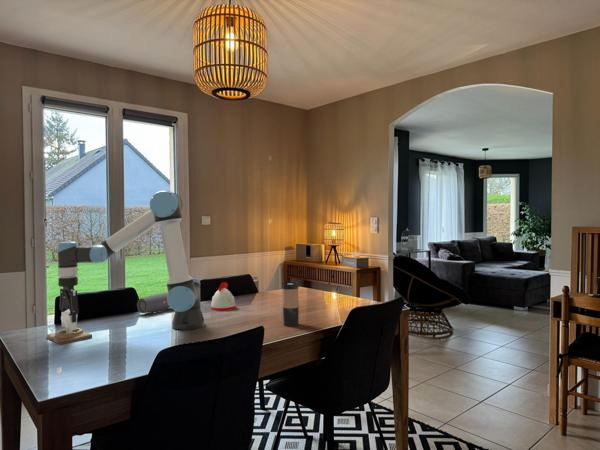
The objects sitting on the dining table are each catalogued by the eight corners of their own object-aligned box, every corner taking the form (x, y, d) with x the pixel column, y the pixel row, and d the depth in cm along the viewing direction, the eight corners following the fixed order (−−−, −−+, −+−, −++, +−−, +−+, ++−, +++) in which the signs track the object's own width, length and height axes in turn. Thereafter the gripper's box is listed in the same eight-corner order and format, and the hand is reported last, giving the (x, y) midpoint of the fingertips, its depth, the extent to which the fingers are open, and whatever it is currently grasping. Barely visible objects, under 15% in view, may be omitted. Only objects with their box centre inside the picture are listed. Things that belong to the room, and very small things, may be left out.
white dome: (240, 307, 247) (239, 281, 247) (225, 311, 235) (225, 285, 235) (221, 305, 254) (220, 280, 254) (205, 309, 242) (205, 283, 241)
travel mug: (301, 323, 206) (300, 282, 206) (295, 327, 199) (295, 284, 199) (286, 322, 209) (285, 281, 209) (280, 326, 202) (280, 284, 201)
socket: (92, 337, 186) (92, 331, 186) (59, 344, 176) (59, 337, 176) (78, 331, 197) (78, 325, 197) (46, 337, 187) (46, 331, 187)
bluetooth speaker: (147, 316, 227) (147, 297, 227) (136, 314, 232) (136, 296, 231) (180, 308, 246) (180, 291, 246) (169, 307, 251) (169, 290, 251)
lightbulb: (65, 332, 189) (64, 308, 189) (80, 332, 190) (79, 307, 190) (58, 336, 183) (58, 311, 183) (73, 336, 184) (73, 311, 183)
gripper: (86, 277, 182) (87, 330, 182) (68, 274, 196) (69, 322, 196) (67, 279, 176) (69, 333, 176) (50, 275, 191) (51, 325, 191)
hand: (69, 327), depth 186 cm, fingers open, 9 cm apart
